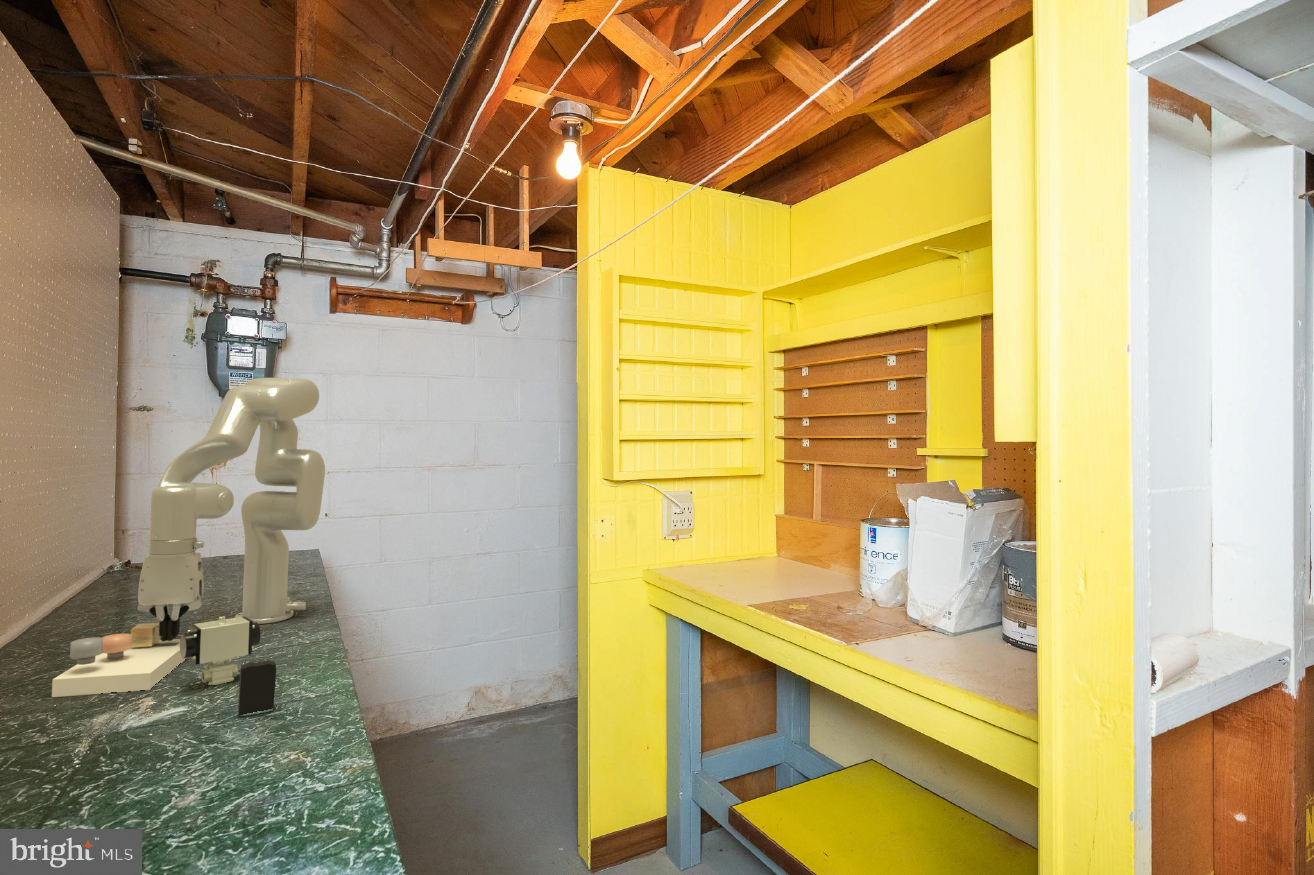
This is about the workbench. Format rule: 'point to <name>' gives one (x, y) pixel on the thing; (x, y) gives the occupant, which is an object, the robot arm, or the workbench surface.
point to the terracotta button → (116, 645)
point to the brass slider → (145, 635)
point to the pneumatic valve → (219, 646)
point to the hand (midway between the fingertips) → (169, 639)
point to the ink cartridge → (257, 687)
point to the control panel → (120, 671)
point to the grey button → (86, 649)
